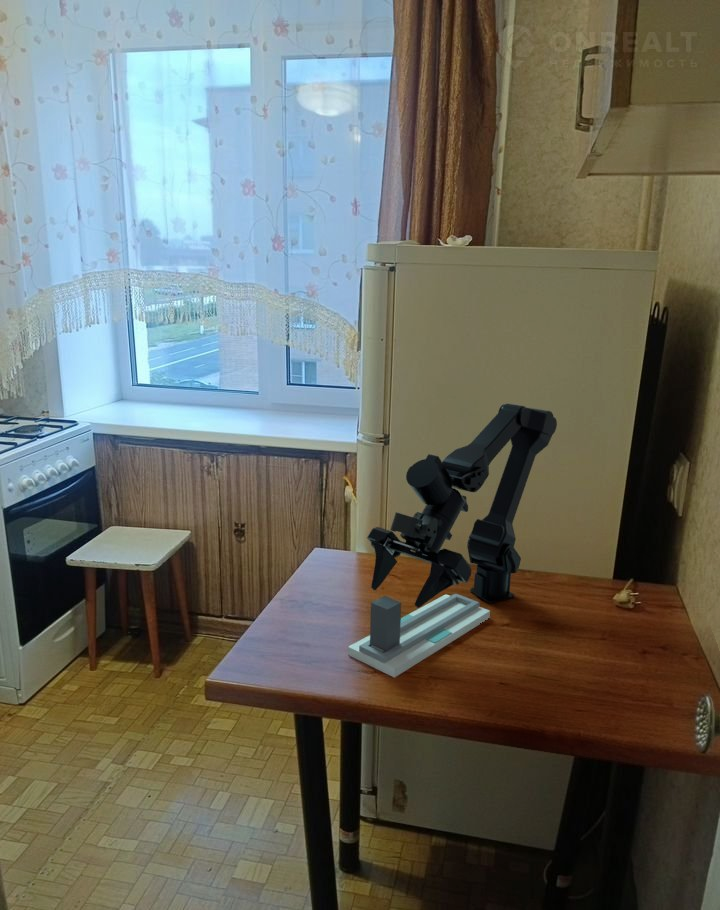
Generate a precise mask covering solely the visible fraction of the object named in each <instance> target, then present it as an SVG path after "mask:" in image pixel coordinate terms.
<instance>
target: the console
mask: <svg viewBox="0 0 720 910" xmlns="http://www.w3.org/2000/svg"><path fill="white" fill-rule="evenodd" d="M490 615H491V610H489V609H486V608H484V607H480V601H476V600H474V599H471V598H469V597H466V596H464V595H461V594H458V593H453V594H451V595H448V594H444V595H442V596H440V597H438V598H436V599H435V600H432V601H431V602H429V603H427V604H424V605H422V606H421V607H419V608H417V609H416V610H413V611H412V612H410V613H408V614H406V615H404V616H403V617H401V624H400V644H399V645H397V646H395V647H393V648H392V649H390V650H388V651H387V652H385V653H382V652H380V651H378V650H376V649H374V648H372V647H371V644H370V634H369V635H367V636H366V637H363V638H362V639H359V640H358V641H356V642H354V643H352V644H350V645H349V646H347V656H350V657H352V658H353V659H355V660H358V661H359V662H361V663H364V664H366V665H368V666H370V667H372V668H373V669H376V670H378V671H380V672H382V673H384V674H386V675H388V676H391V677H392V678H394V679H395V678H396V677H398V676H399V675H401V674H403V673H404V672H405V671H407V670H409V669H410V668H412V667H413V666H415V665H418V663H420V662H421V661H423V660H425V659H426V658H428V657H430V656H431V655H433V654H435V653H436V652H438V651H439V650H441V649H443V648H445V647H446V646H447V645H449V644H451V643H452V642H453V641H455V640H457V639H458V638H461V637H462V636H464V635H466V633H468V632H469V631H471V630H472V629H474V628H476V627H478V626H479V625H481V624H483V623H484V622H485V620H486V621H487V620H488V618H489V619H490ZM482 622H483V623H482ZM480 623H481V624H480Z"/></svg>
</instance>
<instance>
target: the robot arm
mask: <svg viewBox="0 0 720 910" xmlns="http://www.w3.org/2000/svg"><path fill="white" fill-rule="evenodd" d="M497 411H498V413H497V414H496V415H495V416H494V417H492V419H491V421H489V422H488V424H486V426H485V427H484V428H483V429H482V430H481V431H480V432H479V433H478V434H477V436H476V437H474V439H473V440H472V441H471V442H470V443H469V444H468V445H465V446H462V447H459V448H457V449H454V450H453V451H452V452H450V453H449V454H448V455H447V456H446V457H445V458H444V459H443V460H441V458H440V457H439V455H435V454H430V453H429V454H428V455H427V456H426V458H425V459H421V460H419V461H416V462H415V463H413V464H412V466H409V468H408V469H407V472H406V474H405V475H406V476H405V478H406V482H407V484H408V485H409V486H410V487H411V489H412V491H413V492H414V493H415V494H416V496H417V497H418V499H419V500H420V501H421V502H422V503H423V504H425V507H424V508H423V509H422V511H421V512H418V511H417V512H416V513H414V515H413V516H410V515H407V514H404V513H401V512H397V511H396V512H395V513H394V517H393V519H392V524H391V525H390V529H385V528H383V527H380V526H376V527H373V528H372V529H370V531H369V533H368V535H367V537H366V539H367V540H368V541H369V542H370V546H371V547H372V548H373V549H374V552H375V560H374V561H375V564H374V568H373V575H372V580H371V581H372V582H371V587H370V588H371V589H372V590H373V591H377V589H378V588H379V587H380V586H381V585H383V583H384V581H385V579H386V578H387V577H388V576H389V574H390V573H391V571H392V570H393V569H394V567H395V566H396V564H397V563H398V560H397V559H396V558H398V557H399V556H401V554H403V555H405V556H409V557H411V558H415V559H417V560H419V561H423V562H426V563H429V564H430V571H429V575H428V577H427V579H426V581H425V582H424V584H423V586H422V588H421V590H420V591H419V593H418V594H417V597H416V600H415V602H414V606H415V607H416V608H417V609H419V608H421V607H423V606H424V605H426V603H428V602H429V601H430V600H432V599H433V598H434V597H436V596H437V595H438V594H440V593H442V592H443V591H445V590H447V589H448V588H450V587H452V586H458V585H459V583H463V584H467V583H468V582H469V580H470V577H471V576H472V567H471V565H470V564H474V565H476V573H475V574H474V582H473V587H471V588H470V589H469V590H470V592H471V593H472V594H474V595H475V596H477V597H479V598H480V599H482V600H484V601H485V602H487V603H488V604H493V603H496V602H497V603H498V602H501V600H502V601H506V600H509V599H508V598H510V599H513V597H514V598H515V593H513V592H511V591H510V588H511V579H512V574H517V573H518V572H517V571H518V569H519V567H520V566H521V565H520V564H521V561H522V558H521V556H520V554H519V553H518V551H517V550H516V549H515V543H516V534H515V529H514V526H513V523H514V519H515V516H516V514H517V511H518V508H519V504H520V502H521V499H522V496H523V495H524V494H523V493H524V490H525V488H526V485H527V483H528V479H529V476H530V473H531V471H532V467H533V464H534V461H535V458H536V456H537V455H538V454H539V453H541V452H542V451H543V450H544V449H545V448H547V447H548V445H549V444H550V441H551V439H552V437H553V435H554V434H555V432H556V430H557V425H558V421H557V418H556V417H554V414H553V412H552V411H550V410H545V409H538V408H533V407H527V406H525V405H520V404H514V403H504V404H502V405H501V406H500V407H499V409H498V410H497ZM509 442H510V443H511V448H510V452H509V455H508V458H507V461H506V464H505V466H504V469H503V472H502V475H501V477H500V481H499V483H498V485H497V489H496V492H495V495H494V498H493V501H492V502H491V506H490V509H489V512H488V514H487V515H486V516H484V518H483V519H479V518H477V519H476V520H475V521H474V523H473V527H472V531H471V533H470V534H469V536H468V541H467V547H466V548H467V553H468V557H469V562H468V561H467V560H466V558H465V557H464V556H463V554H462V553H459V552H457V551H453V550H450V549H447V548H442V546H443V544H444V543H445V542H446V540H447V541H451V539H452V537H453V534H452V533H451V529H452V528H453V527H454V524H455V523H456V521H457V519H458V517H459V515H460V513H461V511H462V512H465V513H467V512H469V504H468V502H467V496H466V495H463V494H461V492H460V491H459V490H461V491H465V492H469V493H476V492H478V491H479V490H480V489H481V488H482V486H483V485H484V483H485V482H486V480H487V478H488V477H489V476H490V467H489V466H490V464H491V462H492V461H493V460H494V459H495V458H496V457H497V455H498V454H499V453H500V452H501V451H502V450H503V448H504V447H506V445H507V444H508V443H509ZM395 532H398V533H400V538H402V539H403V540H405V542H404V541H402V540H400V539H399V537H397V535H396V534H395ZM469 563H470V564H469ZM505 599H506V600H505Z"/></svg>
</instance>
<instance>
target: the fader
mask: <svg viewBox="0 0 720 910" xmlns="http://www.w3.org/2000/svg"><path fill="white" fill-rule="evenodd" d="M401 614H402V601H399V600H396V599H394V598H392V597H389V596H387V595H384V596H382V597H379V598H378V599H375V600H373V601H372V602H370V621H369V622H370V628H369V629H370V630H369V633H370V634H369V635H370V644H371V647H372V648H374V649H376V650H378V651H380V652H382V653H385V652H387V651H388V650H390V649H392V648H393V647H395V646H397V645H399V644H400V624H401V618H402V617H401V616H402V615H401Z"/></svg>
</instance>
